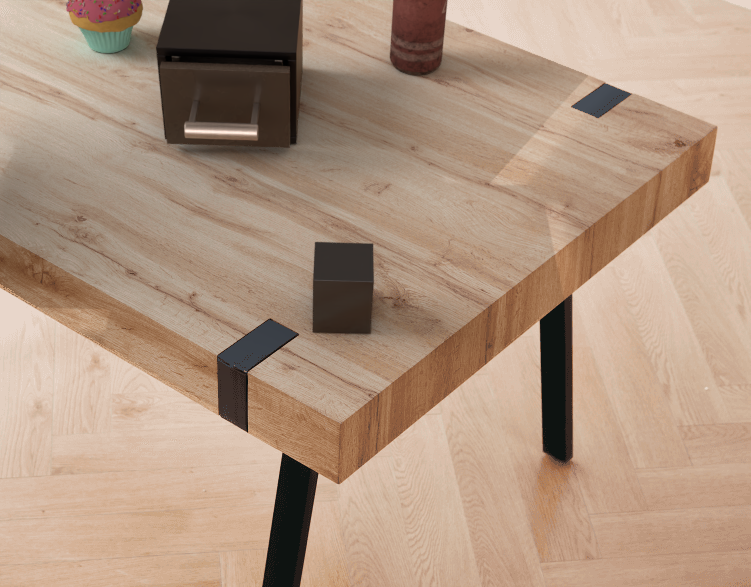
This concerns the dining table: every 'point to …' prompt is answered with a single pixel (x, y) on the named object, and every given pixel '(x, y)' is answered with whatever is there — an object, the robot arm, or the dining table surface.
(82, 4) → the cupcake
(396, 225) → the dining table surface
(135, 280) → the dining table surface
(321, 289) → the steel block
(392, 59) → the can
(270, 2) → the dark brown cabinet
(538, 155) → the dining table surface
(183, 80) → the drawer
